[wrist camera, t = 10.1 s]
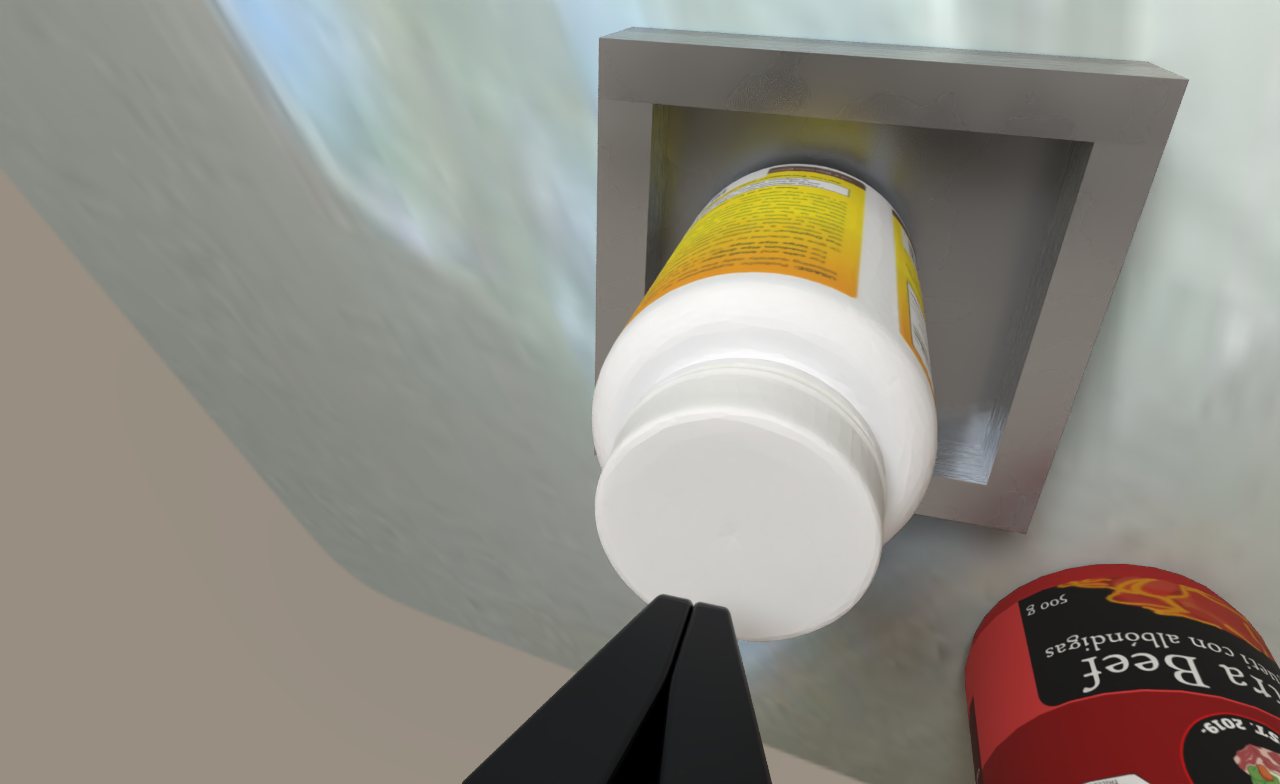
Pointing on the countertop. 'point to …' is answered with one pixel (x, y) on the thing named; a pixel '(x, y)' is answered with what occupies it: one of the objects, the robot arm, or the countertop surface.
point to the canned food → (1121, 684)
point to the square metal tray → (908, 206)
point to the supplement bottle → (769, 406)
